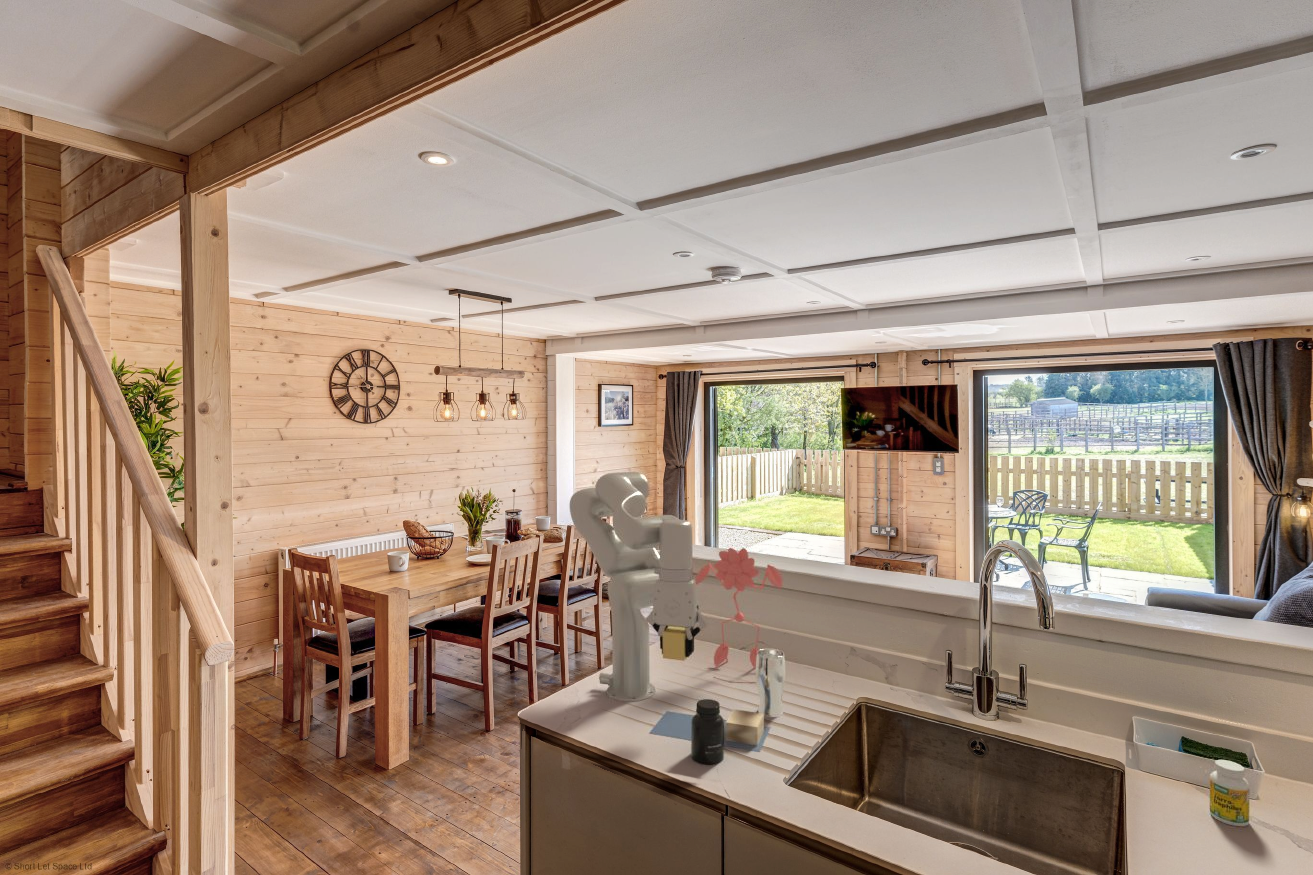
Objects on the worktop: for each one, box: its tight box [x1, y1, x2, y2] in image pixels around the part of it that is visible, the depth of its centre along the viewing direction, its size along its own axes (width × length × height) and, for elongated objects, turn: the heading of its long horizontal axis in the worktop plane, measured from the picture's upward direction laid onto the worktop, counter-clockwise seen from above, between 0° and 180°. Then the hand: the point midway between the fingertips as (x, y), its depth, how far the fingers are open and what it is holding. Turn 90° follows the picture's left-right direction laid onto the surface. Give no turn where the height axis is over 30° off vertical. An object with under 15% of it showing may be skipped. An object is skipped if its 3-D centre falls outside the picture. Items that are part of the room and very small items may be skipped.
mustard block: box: [662, 626, 688, 662], centre depth 154 cm, size 5×5×6 cm
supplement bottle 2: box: [1209, 759, 1251, 827], centre depth 120 cm, size 5×5×10 cm
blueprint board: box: [648, 710, 771, 753], centre depth 153 cm, size 25×12×1 cm, turn 70°
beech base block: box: [726, 708, 765, 746], centre depth 150 cm, size 7×7×4 cm
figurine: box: [694, 547, 783, 684], centre depth 188 cm, size 15×26×35 cm, turn 67°
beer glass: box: [755, 647, 786, 718], centre depth 162 cm, size 7×7×15 cm
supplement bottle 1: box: [690, 698, 725, 766], centre depth 141 cm, size 7×7×12 cm
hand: (677, 652), depth 155 cm, fingers closed on mustard block, 5 cm apart
